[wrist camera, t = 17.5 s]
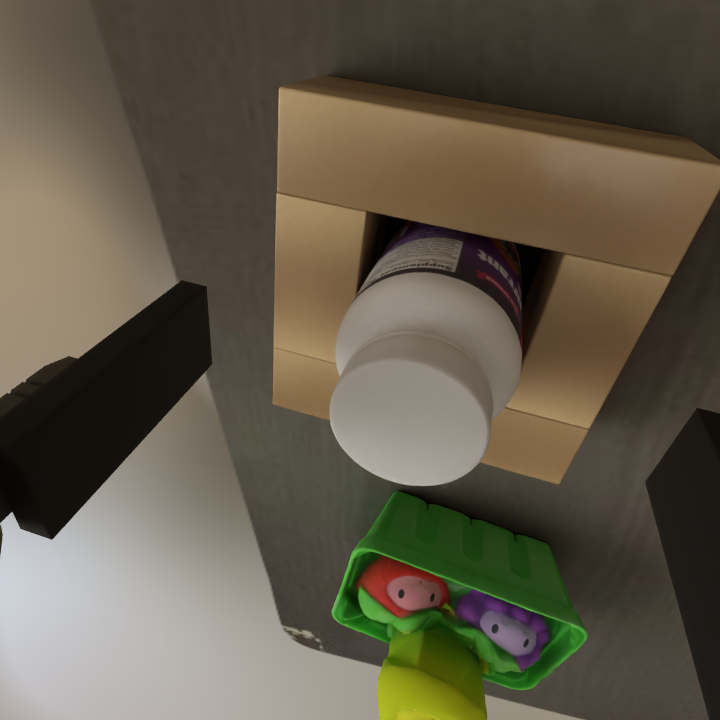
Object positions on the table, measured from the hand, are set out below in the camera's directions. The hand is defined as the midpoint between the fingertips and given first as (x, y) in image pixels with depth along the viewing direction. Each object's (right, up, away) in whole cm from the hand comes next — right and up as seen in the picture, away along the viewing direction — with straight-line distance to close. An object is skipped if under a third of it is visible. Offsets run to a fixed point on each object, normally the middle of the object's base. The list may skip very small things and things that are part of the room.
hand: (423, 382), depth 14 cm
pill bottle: (+2, +4, +6) cm, 8 cm away
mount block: (+2, +4, +6) cm, 8 cm away
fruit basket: (+4, -10, +16) cm, 19 cm away
